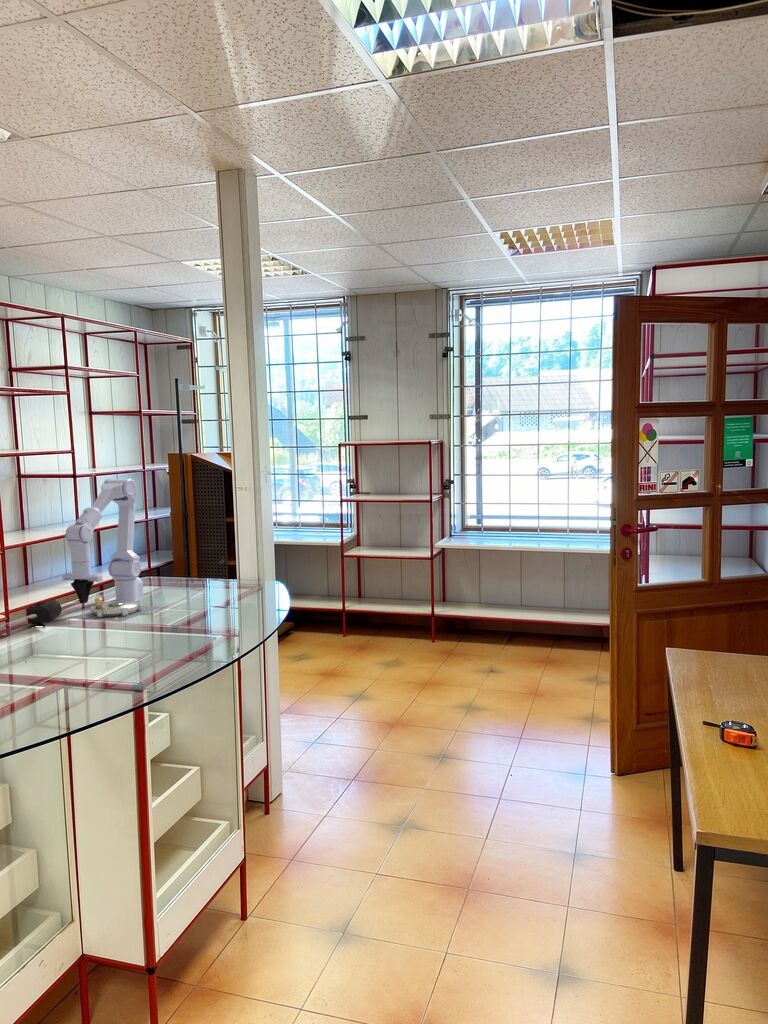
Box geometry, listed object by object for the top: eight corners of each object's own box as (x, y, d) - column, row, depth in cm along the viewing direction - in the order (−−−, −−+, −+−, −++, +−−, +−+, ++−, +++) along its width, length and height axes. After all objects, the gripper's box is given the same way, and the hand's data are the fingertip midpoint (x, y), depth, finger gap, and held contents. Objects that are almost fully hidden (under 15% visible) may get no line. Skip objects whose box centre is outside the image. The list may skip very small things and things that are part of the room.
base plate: (113, 608, 249) (113, 603, 249) (161, 611, 243) (161, 606, 242) (70, 622, 231) (69, 617, 231) (121, 626, 224) (120, 621, 224)
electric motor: (51, 627, 226) (49, 606, 225) (27, 628, 225) (25, 607, 224) (62, 619, 236) (61, 599, 235) (40, 620, 235) (38, 600, 234)
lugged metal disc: (129, 603, 247) (128, 588, 246) (147, 611, 235) (146, 595, 235) (86, 611, 238) (85, 595, 237) (102, 619, 226) (101, 603, 225)
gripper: (53, 562, 232) (57, 604, 234) (89, 564, 227) (93, 606, 229) (70, 559, 239) (73, 599, 240) (105, 560, 234) (108, 601, 235)
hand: (83, 602), depth 235 cm, fingers closed
